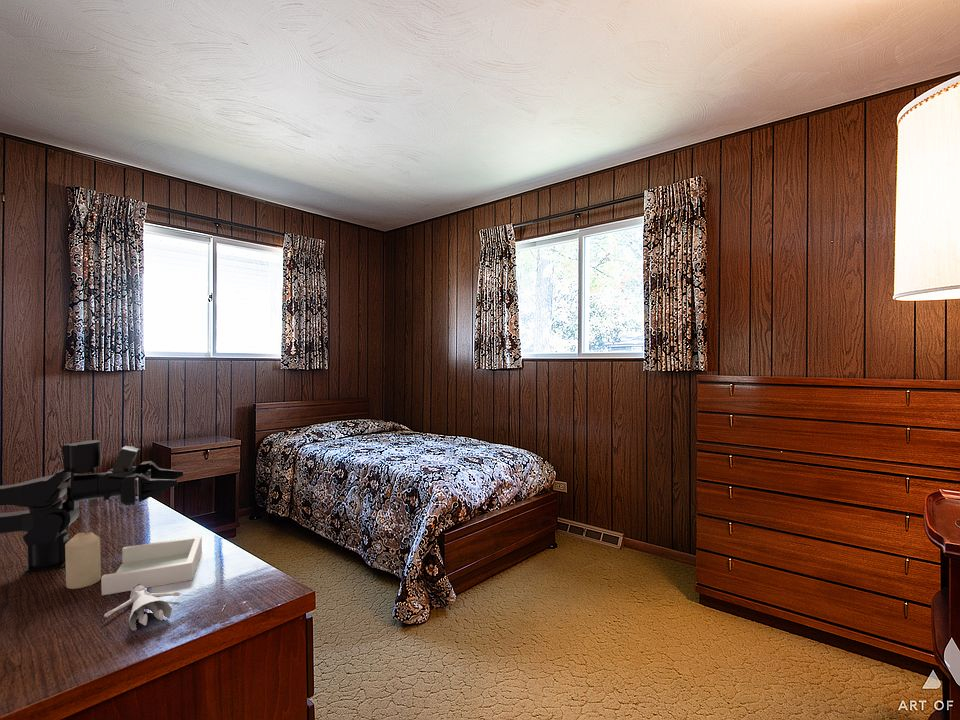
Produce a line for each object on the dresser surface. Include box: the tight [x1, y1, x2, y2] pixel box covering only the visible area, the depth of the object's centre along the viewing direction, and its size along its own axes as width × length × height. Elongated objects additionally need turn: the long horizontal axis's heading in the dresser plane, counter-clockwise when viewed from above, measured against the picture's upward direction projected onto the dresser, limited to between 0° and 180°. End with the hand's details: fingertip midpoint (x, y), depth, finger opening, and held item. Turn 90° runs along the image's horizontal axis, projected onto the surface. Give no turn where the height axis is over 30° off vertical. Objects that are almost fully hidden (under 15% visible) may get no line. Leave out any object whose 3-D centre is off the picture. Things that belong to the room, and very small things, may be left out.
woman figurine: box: [103, 584, 182, 631], centre depth 88 cm, size 12×4×18 cm
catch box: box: [100, 535, 203, 596], centre depth 105 cm, size 15×16×4 cm
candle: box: [65, 531, 102, 590], centre depth 100 cm, size 6×6×10 cm
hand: (180, 477), depth 118 cm, fingers open, 9 cm apart
